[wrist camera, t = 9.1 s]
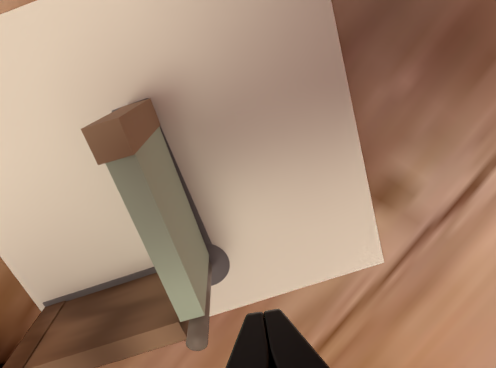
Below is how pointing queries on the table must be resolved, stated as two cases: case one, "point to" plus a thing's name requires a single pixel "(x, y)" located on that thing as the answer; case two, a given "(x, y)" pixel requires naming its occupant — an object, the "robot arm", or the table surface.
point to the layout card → (182, 143)
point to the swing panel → (154, 201)
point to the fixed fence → (109, 327)
